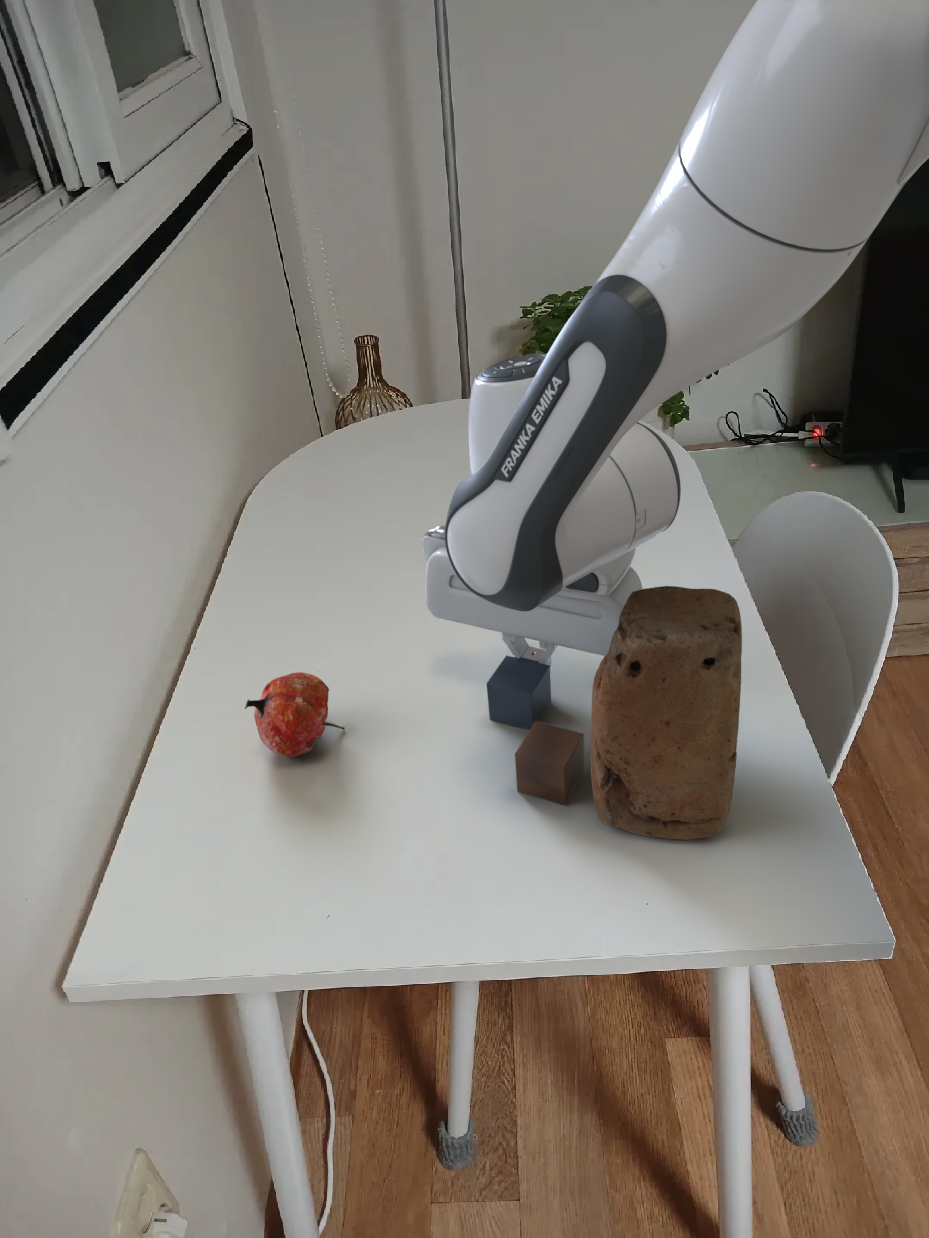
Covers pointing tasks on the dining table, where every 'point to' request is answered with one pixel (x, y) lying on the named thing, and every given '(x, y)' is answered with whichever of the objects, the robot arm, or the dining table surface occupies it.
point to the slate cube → (519, 692)
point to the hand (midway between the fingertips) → (533, 668)
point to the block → (668, 714)
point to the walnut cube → (550, 762)
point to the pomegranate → (292, 713)
